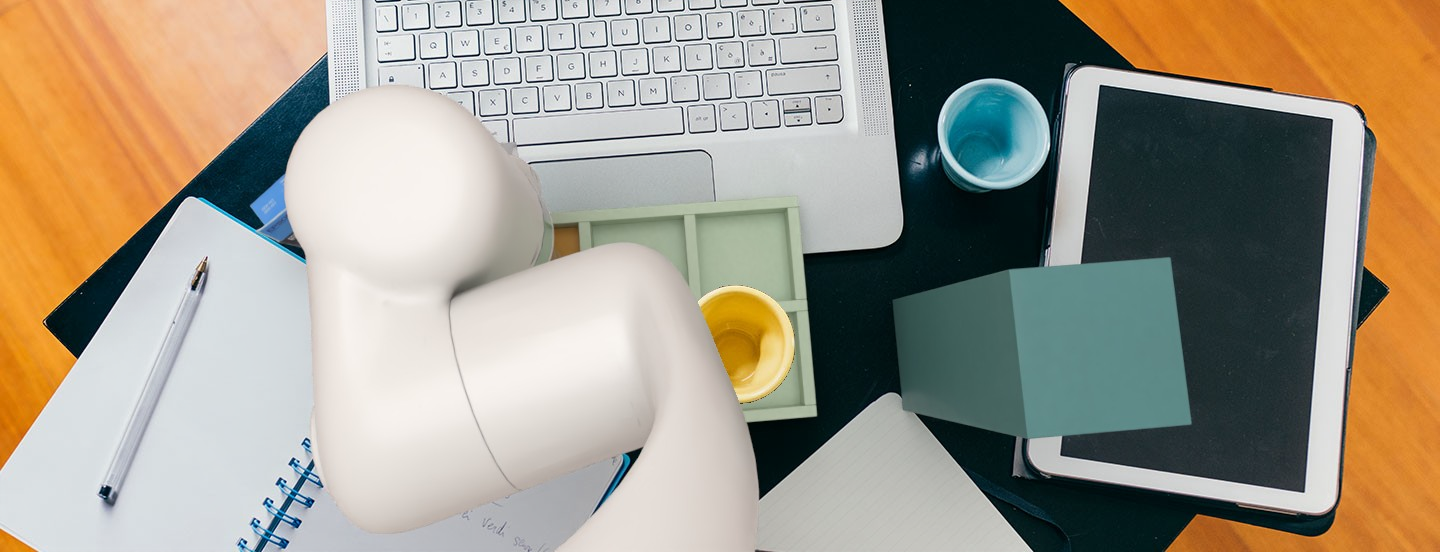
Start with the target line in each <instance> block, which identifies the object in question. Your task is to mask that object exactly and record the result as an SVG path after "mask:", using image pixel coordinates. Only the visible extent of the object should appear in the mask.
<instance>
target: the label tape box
mask: <svg viewBox="0 0 1440 552" xmlns="http://www.w3.org/2000/svg"><path fill="white" fill-rule="evenodd" d="M285 175H286V172H285V173H284V174H282V176H280V177H279V178H278V179H277V180H276V181H275V182H274V183H273V184H272V185H271V186H270V187H268V188H267V189H266V190H265V191H264V192H263V193H262V194H260V196H258V197H257V198H256V199H255V200H254V201H253V202H252V203H250V204H249V207H250V208H251V209H252V211H253V212H254V214H255V215H256V216H257V217H258V218H259V220H260V222H261V223H262V224H263V226H262V227H260V228H258V229H255V233H257V234H259V235H263V236H265V237H267V238H269V239H272V240H274V241H276V242H277V243H280V244H284V245H290V246H294V247H297V248H301V249H303V248H302V247H301V245H300V243H299V242H298V240H297V239H296V237H295V235H294V232H293V230H292V227H291V224H290V222H289V219H288V215H287V209H286V204H285V198H284V180H285Z"/></svg>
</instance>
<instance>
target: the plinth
mask: <svg viewBox="0 0 1440 552" xmlns="http://www.w3.org/2000/svg"><path fill="white" fill-rule="evenodd" d="M1172 266H1173V265H1172V259H1171V257H1169V256H1168V257H1154V258H1153V257H1152V258H1142V259H1129V260H1127V259H1126V260H1117V261H1115V260H1114V261H1102V262H1101V261H1100V262H1089V263H1077V264H1075V263H1073V264H1061V265H1049V266H1036V267H1034V266H1033V267H1024V268H1023V267H1021V268H1010V269H1005V270H1002V271H998V272H994V273H991V274H987V275H983V276H979V277H975V278H971V279H967V280H964V281H959V282H956V283H952V284H948V285H944V286H941V287H937V288H933V289H930V290H925V291H921V292H917V293H914V294H910V295H907V296H901V297H899V298H895V299H892V311H893V321H894V331H895V340H896V351H897V361H898V362H897V363H898V372H899V383H900V391H901V401H902V402H901V403H902V410H903V411H905V412H910V413H914V414H919V415H922V416H927V417H931V418H936V419H939V420H944V421H948V422H953V423H957V424H960V425H961V424H962V425H965V426H966V425H967V426H969V427H970V426H971V427H974V428H979V429H984V430H988V431H992V432H996V433H1001V434H1006V435H1008V436H1014V437H1018V438H1022V439H1025V440H1026V439H1027V440H1031V439H1043V438H1044V439H1045V438H1055V437H1067V436H1079V435H1089V434H1101V433H1113V432H1123V431H1133V430H1146V429H1147V430H1148V429H1156V428H1168V427H1178V426H1180V427H1181V426H1191V425H1192V423H1193V422H1192V416H1191V415H1192V414H1191V407H1190V400H1189V393H1188V392H1189V391H1188V384H1187V377H1186V376H1187V375H1186V368H1185V362H1184V353H1183V346H1182V338H1181V330H1180V321H1179V314H1178V306H1177V305H1178V304H1177V298H1176V290H1175V289H1176V288H1175V283H1174V282H1175V281H1174V275H1173V267H1172Z"/></svg>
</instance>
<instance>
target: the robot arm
mask: <svg viewBox="0 0 1440 552" xmlns="http://www.w3.org/2000/svg"><path fill="white" fill-rule="evenodd" d="M292 147H293V148H292V150H291V152H290V155H289V158H288V162H287V165H286V169H285V170H286V171H285V173H286V175H285V180H284V198H285V204H286V209H287V215H288V219H289V222H290V224H291V227H292V230H293V232H294V235H295V237H296V239H297V240H298V242H299V243H300V245H301V247H302V248H301V247H300V248H301V249H302V250H303V252H304V255H305V265H306V277H307V291H308V304H309V305H308V306H309V318H310V320H309V321H310V333H311V334H310V337H311V365H312V367H311V368H312V389H313V390H312V391H313V394H312V395H313V407H312V410H311V414H310V420H309V443H310V453H311V456H312V459H313V460H312V461H313V465H314V467H315V471H316V474H317V477H318V479H319V481H320V483H321V485H322V487H323V488H324V490H325V491H326V493H327V494H328V495H329V496H330V497H331V498H332V499H333V502H334V503H335V505H336V507H337V508H338V510H339V511H340V512H341V514H342V515H343V517H345V518H346V519H347V520H348V521H349V522H350V523H351V524H352V525H353V526H355V527H357V528H359V529H360V530H362V531H365V532H367V533H370V534H375V535H397V534H404V533H407V532H410V531H414V530H418V529H422V528H425V527H427V526H430V525H433V524H435V523H439V522H442V521H444V520H447V519H449V518H452V517H455V516H458V515H461V514H463V513H466V512H468V511H469V512H470V511H471V510H474V509H476V508H479V507H482V506H485V505H487V504H490V503H493V502H495V501H498V500H501V499H504V498H506V497H509V496H512V495H514V494H517V493H519V492H523V491H526V490H528V489H530V488H534V487H536V486H538V485H542V484H544V483H546V482H549V481H552V480H554V479H557V478H561V477H562V476H565V475H568V474H571V473H574V472H576V471H579V470H582V469H585V468H587V467H591V466H593V465H596V464H598V463H601V462H603V461H606V460H609V459H612V458H615V457H618V456H621V455H624V454H627V453H630V452H634V451H636V450H640V449H641V452H640V454H639V455H638V458H636V460H635V462H634V463H633V464H632V466H631V467H630V469H629V470H628V472H627V473H626V474H625V476H624V477H623V479H622V480H621V482H620V483H619V485H617V486H616V488H615V489H614V490H613V492H612V493H610V494H609V496H608V497H607V498H606V499H605V501H603V503H602V504H601V505H600V507H598V509H597V510H596V511H595V512H594V513H593V514H592V515H591V516H590V517H589V518H588V519H587V520H586V521H585V522H584V523H583V524H582V525H581V526H580V527H579V528H578V529H577V530H576V531H575V532H574V533H573V534H572V535H571V536H570V537H568V538H567V539H566V540H565V541H563V543H562V544H560V545H559V546H558V547H557V548H556V549H554V550H553V552H756V547H757V537H758V531H759V521H760V519H759V518H760V505H759V504H760V488H759V479H758V478H759V477H758V469H757V468H758V467H757V462H756V460H757V459H756V455H755V452H754V448H753V447H754V446H753V443H752V437H751V435H750V430H749V425H748V422H746V420H745V416H744V413H743V410H742V408H741V405H740V403H739V400H738V397H737V395H736V392H735V390H734V387H733V385H732V382H731V380H730V378H729V375H728V373H727V371H726V369H725V367H724V364H723V362H722V359H721V357H720V354H719V352H718V349H717V347H716V344H715V342H714V339H713V336H712V334H711V331H710V329H709V327H708V324H707V322H706V320H705V317H704V315H703V313H702V311H701V308H700V306H699V304H698V302H697V300H696V298H695V296H694V294H693V292H692V291H691V289H690V287H689V286H688V284H687V282H686V281H685V279H684V278H683V276H682V275H681V273H680V272H679V270H678V269H677V268H676V267H675V266H674V265H673V264H672V263H671V262H670V261H669V260H668V259H667V258H666V257H665V256H663V255H662V254H661V253H659V252H658V251H656V250H654V249H652V248H650V247H647V246H644V245H640V244H636V243H629V242H619V243H611V244H605V245H601V246H597V247H594V248H591V249H587V250H584V251H581V252H577V253H574V254H571V255H568V256H565V257H561V258H558V259H555V260H552V261H550V260H551V257H552V252H553V247H554V227H553V221H552V218H551V214H550V213H551V211H550V208H549V207H548V204H547V202H546V200H545V198H544V196H543V193H542V184H541V180H540V178H539V176H538V174H537V173H536V171H535V169H534V168H533V167H532V166H531V165H530V164H529V163H528V162H527V161H525V160H524V159H522V158H521V157H520V156H519V150H518V144H517V142H516V141H509V142H508V141H506V142H499V141H498V140H497V139H496V138H495V136H494V135H493V134H492V133H491V132H490V130H489V129H488V128H487V127H486V126H485V125H484V123H482V122H481V121H480V120H479V118H478V117H476V116H475V115H474V114H473V113H472V112H471V111H470V110H468V109H467V108H466V107H465V106H463V105H462V104H460V103H459V102H457V101H456V100H454V99H453V98H450V97H449V96H447V95H444V94H442V93H439V92H437V91H434V90H431V89H428V88H424V87H420V86H415V85H409V84H384V85H377V86H376V85H375V86H369V87H365V88H363V89H359V90H357V91H353V92H350V93H348V94H346V95H344V96H343V97H340V98H339V99H337V100H334V101H333V102H332V103H330V104H329V105H327V106H326V107H325V108H324V109H322V110H321V111H319V112H318V113H317V114H316V115H315V116H314V117H313V118H312V120H311V121H310V122H309V123H308V124H307V125H306V126H305V127H304V129H303V130H302V132H301V133H300V135H299V137H298V138H297V140H296V142H295V143H294V145H293V146H292Z"/></svg>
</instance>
